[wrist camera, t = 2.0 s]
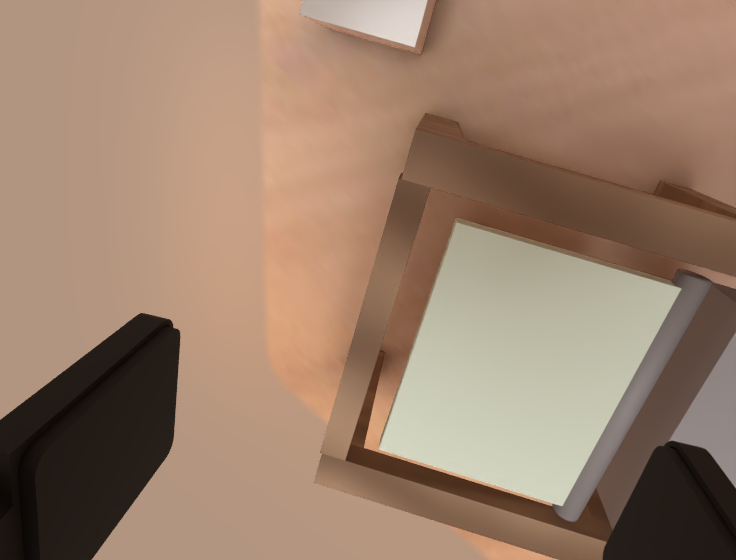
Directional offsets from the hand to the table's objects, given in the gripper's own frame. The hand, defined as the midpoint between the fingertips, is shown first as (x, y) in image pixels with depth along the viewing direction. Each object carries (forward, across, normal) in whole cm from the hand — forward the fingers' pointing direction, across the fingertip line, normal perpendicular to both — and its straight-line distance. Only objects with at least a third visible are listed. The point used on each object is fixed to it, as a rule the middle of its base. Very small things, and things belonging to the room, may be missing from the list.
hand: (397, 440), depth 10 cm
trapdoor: (+13, -8, +4) cm, 16 cm away
